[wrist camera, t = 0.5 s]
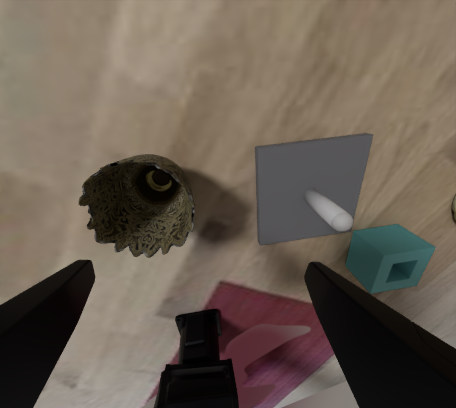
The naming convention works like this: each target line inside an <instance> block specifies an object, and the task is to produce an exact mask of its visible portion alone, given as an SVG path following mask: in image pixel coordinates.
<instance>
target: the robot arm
mask: <svg viewBox="0 0 456 408" xmlns="http://www.w3.org/2000/svg"><path fill="white" fill-rule="evenodd" d="M304 279H305V283H306V286H307V289H308V291H309V294H310V297H311V300H312V303H313V306H314V309H315V311H316V314H317V316H318V318H319V321H320V323H321V325H322V327H323V329H324V332H325V334H326V336H327V338H328V340H329V343H330V345H331V347H332V349H333V351H334V353H335V356H336V358H337V360H338V362H339V364H340V367H341V369H342V371H343V373H344V375H345V377H346V380H347V382H348V384H349V386H350V388H351V391H352V393H353V395H354V397H355V399H356V401H357V404H358V406H359V408H456V349H455V348H454V347H452V346H450V345H448V344H447V343H445V342H444V341H442V340H441V339H439V338H437V337H436V336H434V335H433V334H431V333H429V332H428V331H426V330H425V329H423V328H422V327H420V326H418V325H417V324H415V323H414V322H411V321H410V320H409V319H408V318H406V317H404V316H403V315H401V314H400V313H398V312H397V311H395V310H394V309H392V308H390V307H389V306H387V305H386V304H384V303H383V302H381V301H379V300H378V299H376V298H375V297H373V296H372V295H370V294H369V293H367V292H365V291H364V290H362V289H361V288H359V287H358V286H356V285H355V284H353V283H351V282H350V281H348V280H347V279H345V278H344V277H342V276H341V275H339V274H337V273H336V272H334V271H333V270H331V269H330V268H328V267H327V266H325V265H323V264H322V263H320V262H310V263H309V264H308V267H307V270H306V272H305V275H304ZM94 281H95V273H94V268H93V264H92V261H91V260H77V261H75V262H74V263H72V264H70V265H68V266H67V267H65V268H63V269H62V270H60V271H58V272H56V273H55V274H53V275H51V276H50V277H48V278H46V279H44V280H43V281H41V282H39V283H37V284H36V285H34V286H32V287H31V288H29V289H27V290H25V291H24V292H22V293H20V294H19V295H17V296H15V297H13V298H12V299H10V300H8V301H7V302H5V303H3V304H1V305H0V408H33V407H34V405H35V403H36V401H37V399H38V397H39V395H40V394H41V392H42V390H43V388H44V386H45V384H46V382H47V380H48V378H49V377H50V375H51V373H52V371H53V369H54V367H55V365H56V363H57V361H58V360H59V358H60V356H61V354H62V352H63V350H64V348H65V346H66V344H67V342H68V341H69V339H70V337H71V335H72V333H73V331H74V329H75V327H76V325H77V323H78V321H79V319H80V316H81V314H82V311H83V309H84V306H85V304H86V301H87V299H88V297H89V294H90V292H91V289H92V287H93V284H94ZM175 321H176V324H177V327H178V330H179V333H180V336H181V337H180V347H179V358H178V364H173V365H170V364H166V367H165V370H164V371H163V372H161V378H160V385H159V390H158V394H157V397H156V401H155V405H154V408H239V404H238V394H237V388H236V382H235V377H234V372H233V365H232V360H231V359H227V360H220V356H219V341H218V337H219V336H221V335H222V332H221V327H220V321H219V316H218V311H217V310H216V309H213V310H207V311H201V312H196V313H190V314H184V315H178V316H176V318H175Z"/></svg>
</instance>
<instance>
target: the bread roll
mask: <svg viewBox="0 0 456 408" xmlns="http://www.w3.org/2000/svg"><path fill="white" fill-rule="evenodd" d="M452 209H453V211H454V218H455V220H456V196H455V198H454V200H453V205H452Z"/></svg>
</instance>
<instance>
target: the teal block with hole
mask: <svg viewBox="0 0 456 408" xmlns="http://www.w3.org/2000/svg"><path fill="white" fill-rule="evenodd" d="M435 248H436V247H435V246H433V245H431V244H430V243H428V242H426V241H425V240H423V239H421V238H420V237H418V236H416V235H415V234H413V233H411V232H410V231H408V230H407V229H405V228H403V227H402V226H400V225H398V224H395V225H388V226H381V227H375V228H368V229H362V230H355V231H353V235H352V239H351V244H350V248H349V252H348V256H347V260H346V264H345V266H346V267H347V268H348V269H349V270H350V272H351V273H352V274H353V275H354V276H355V277H356V278H357V279H358V280H359V282H360V283H361V284H362V285H363V286H364V287H365V288H366V289H367V291H368V292H369V293H370V294H372V293H378V292H384V291H389V290H395V289H401V288H406V287H412V286H417V284H418V282H419V280H420V278H421V276H422V274H423V272H424V270H425V268H426V266H427V264H428V262H429V260H430V258H431V256H432V254H433V252H434V250H435Z"/></svg>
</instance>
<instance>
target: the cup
mask: <svg viewBox="0 0 456 408" xmlns="http://www.w3.org/2000/svg"><path fill="white" fill-rule="evenodd" d="M100 169H101V170H99V171H98V172H97V173H95V174H93V175H92V176H90V177H89V178H88V179H87V180H86V181H85V182H84V184H83V186H82V189H83V195H82V196H81V197H80V199H79V205H80V206H86V205H88V207H89V208H88V213H89V214H90V215H91V218H90V221H89V223H88V224H87V228H88V229H90V230H91V229H95V240H96V242H98V243H115V247H114V248H115V252H120V251H123V250H124V249H125V248H126V247H127V246H129V250H130V251H131V252H132V254H133V256H134V257H138V256H140V255H141V254H143V252H144V255H145V256H146V257H147V258H149V257H152V256H153V255H154V254H155V253H156V252H157V251H158V250H159V248H161V249H162V254H163V255H165V254H166V253H168V251H169V249H170V247H171V246H174V245H175V246H176V247H180V246H182V245H183V244H184V243H185V241H186V239H187V237H188V234H189V232H192V231H193V229H194V213H195V210H194V207H195V205H194V201H193V195H192V190H191V186H190V183H189V181H188V178H187V176H186V175H185V173H184V172H183V171H182V169H181V168H180V167H179V166H178V165H177V164H175V163H174V162H173V161H171V160H169V159H167V158H165V157H162V156H158V155H151V154H145V155H137V156H133V157H130V158H127V159H123V160H120V161H117V162H115V163H112V164H108V165H106V166H104V167H102V168H100ZM156 171H161V172H164V173H165V174H167V175H168V176H169V182H168V183H167V184H166V185H158V184H156V183H155V182H154V180H153V174H154V173H155V172H156Z"/></svg>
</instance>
